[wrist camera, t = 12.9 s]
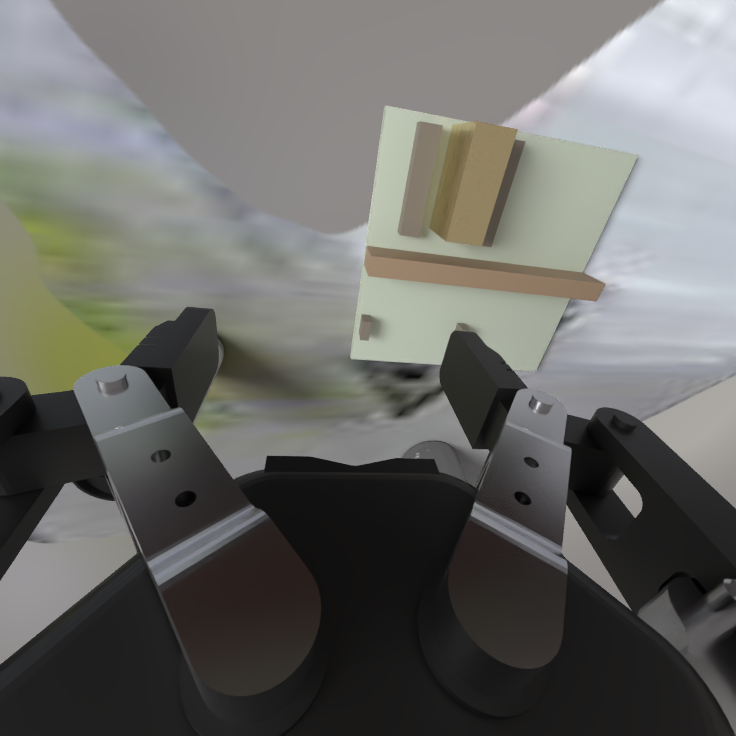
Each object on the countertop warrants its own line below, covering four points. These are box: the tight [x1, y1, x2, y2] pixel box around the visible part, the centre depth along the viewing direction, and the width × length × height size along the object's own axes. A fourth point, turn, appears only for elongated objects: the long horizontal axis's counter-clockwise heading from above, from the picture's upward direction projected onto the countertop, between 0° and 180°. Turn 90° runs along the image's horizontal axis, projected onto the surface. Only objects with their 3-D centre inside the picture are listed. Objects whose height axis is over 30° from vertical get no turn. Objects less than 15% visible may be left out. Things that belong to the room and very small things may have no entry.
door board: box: [350, 106, 638, 371], centre depth 38 cm, size 26×26×5 cm
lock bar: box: [429, 121, 518, 246], centre depth 32 cm, size 9×4×6 cm, turn 172°
